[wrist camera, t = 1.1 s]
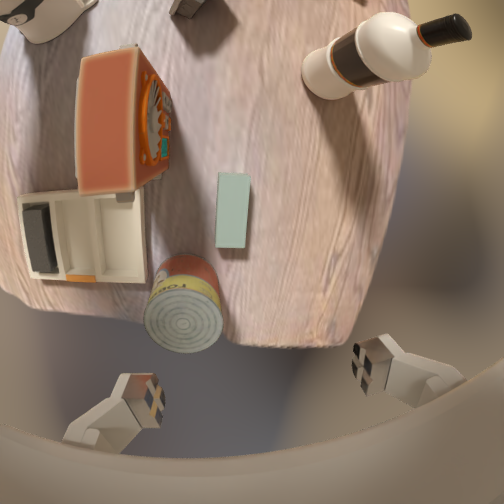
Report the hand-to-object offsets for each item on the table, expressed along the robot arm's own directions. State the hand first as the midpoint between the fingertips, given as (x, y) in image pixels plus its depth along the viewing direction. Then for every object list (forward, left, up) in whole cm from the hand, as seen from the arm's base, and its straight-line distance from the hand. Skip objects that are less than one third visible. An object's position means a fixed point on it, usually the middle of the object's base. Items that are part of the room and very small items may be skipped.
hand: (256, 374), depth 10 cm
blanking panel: (+1, +2, -36) cm, 36 cm away
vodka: (-23, +16, -36) cm, 45 cm away
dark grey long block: (+6, -31, -35) cm, 47 cm away
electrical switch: (-35, -6, -36) cm, 50 cm away
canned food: (+15, -5, -36) cm, 39 cm away
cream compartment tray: (+6, -24, -36) cm, 43 cm away
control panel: (-11, -11, -36) cm, 39 cm away
